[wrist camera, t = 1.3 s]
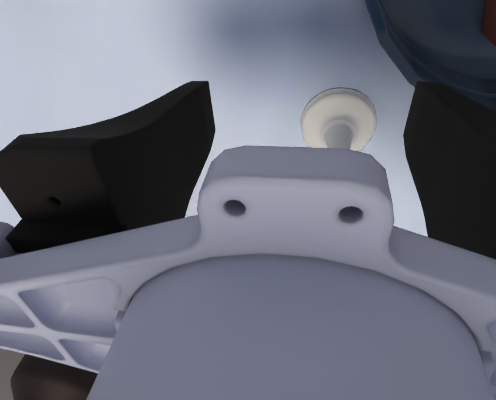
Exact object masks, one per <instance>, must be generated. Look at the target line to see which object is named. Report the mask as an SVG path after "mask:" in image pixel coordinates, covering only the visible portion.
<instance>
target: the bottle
mask: <svg viewBox="0 0 496 400" xmlns="http://www.w3.org/2000/svg"><path fill="white" fill-rule="evenodd" d="M97 375H98V373H95V372H91V371H88V370H84V369H80V368H77V367H73V366H69V365H66V364H62V363H58V362H55V361H51V360H47V359H44V358H40V357H36V356H32V355H28V354H25V355H24V357H23V358H22V360H21V362H20V363H19V365H18V366H17V368H16V370H15V371H14V374H13V376H12V378H11V388H12V393H13V398H14V400H86V399H87V397H88V395H89V393H90V390H91V388H92V386H93V384H94V382H95V379H96V377H97Z"/></svg>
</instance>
